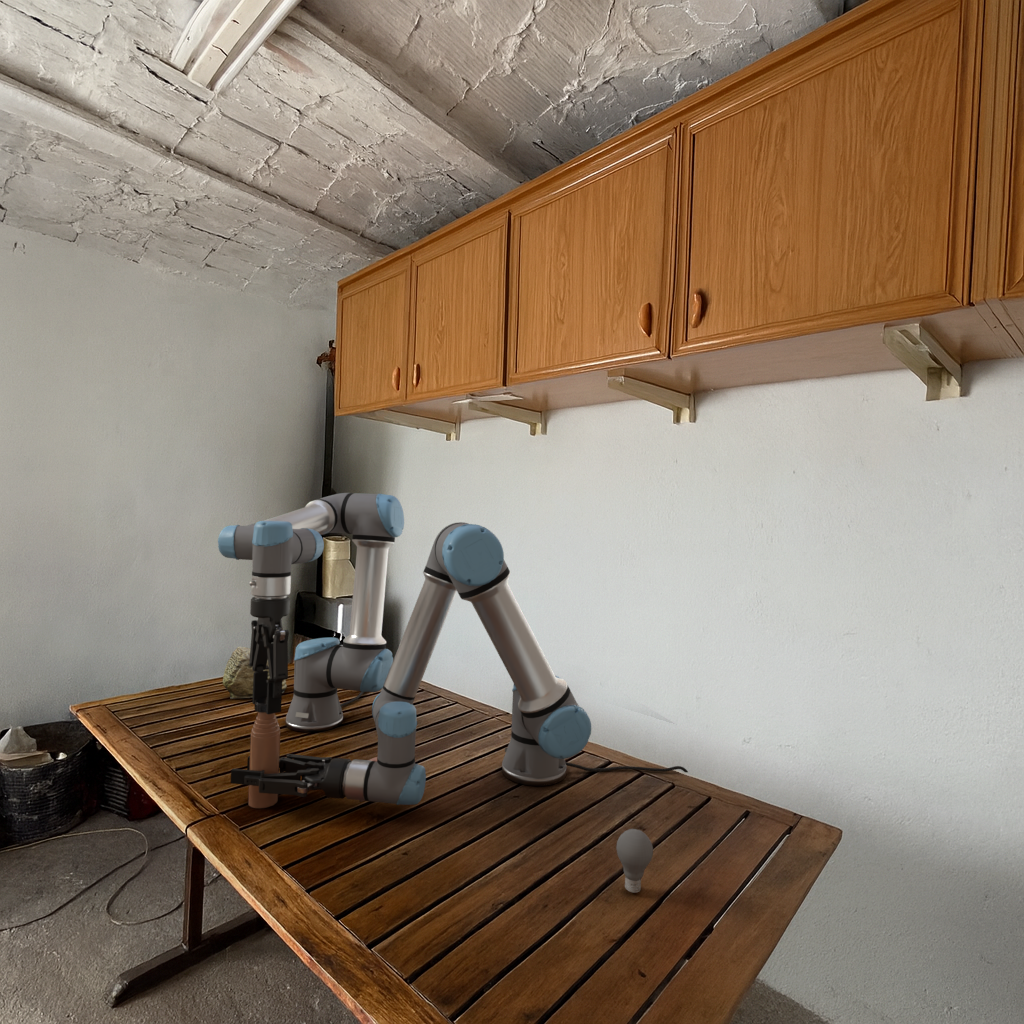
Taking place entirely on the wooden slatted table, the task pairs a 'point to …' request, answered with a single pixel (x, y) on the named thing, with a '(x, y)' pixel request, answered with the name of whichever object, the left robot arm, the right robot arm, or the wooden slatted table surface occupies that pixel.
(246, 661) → the fossil
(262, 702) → the cap
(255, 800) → the bottle
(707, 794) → the wooden slatted table surface
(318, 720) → the left robot arm
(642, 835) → the light bulb
